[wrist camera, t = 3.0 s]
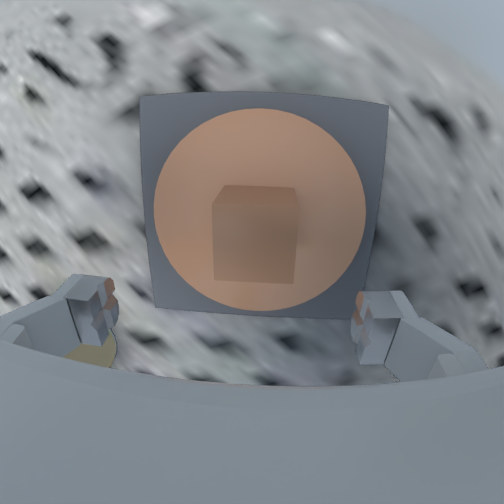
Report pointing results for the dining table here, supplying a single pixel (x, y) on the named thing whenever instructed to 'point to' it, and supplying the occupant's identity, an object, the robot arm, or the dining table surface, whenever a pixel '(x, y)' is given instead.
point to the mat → (306, 106)
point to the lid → (259, 209)
